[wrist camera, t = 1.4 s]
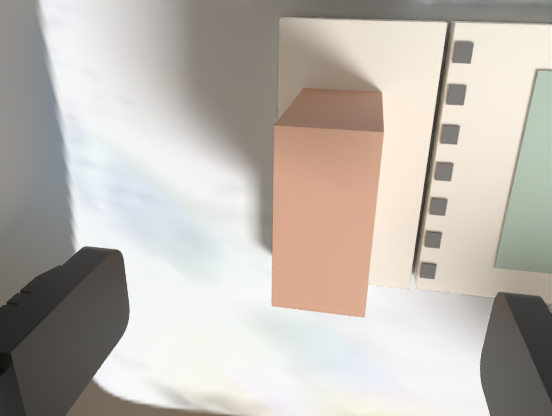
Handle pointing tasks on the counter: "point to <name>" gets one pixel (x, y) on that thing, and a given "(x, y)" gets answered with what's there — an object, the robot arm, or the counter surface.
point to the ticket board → (491, 165)
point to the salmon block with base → (350, 156)
